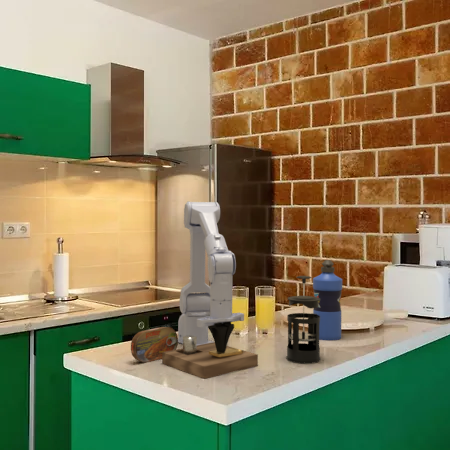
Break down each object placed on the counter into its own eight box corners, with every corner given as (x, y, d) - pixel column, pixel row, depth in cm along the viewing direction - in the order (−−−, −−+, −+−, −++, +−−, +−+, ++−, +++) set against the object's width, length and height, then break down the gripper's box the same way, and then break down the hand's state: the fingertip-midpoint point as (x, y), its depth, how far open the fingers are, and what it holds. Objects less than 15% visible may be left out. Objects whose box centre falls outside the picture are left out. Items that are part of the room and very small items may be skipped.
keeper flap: (208, 354, 148) (208, 350, 148) (233, 350, 154) (233, 347, 154) (218, 357, 145) (218, 353, 145) (243, 353, 151) (243, 349, 151)
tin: (135, 365, 150) (136, 333, 150) (128, 363, 152) (128, 331, 152) (178, 355, 161) (178, 325, 161) (171, 353, 163) (171, 323, 163)
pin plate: (162, 363, 152) (162, 352, 152) (214, 352, 164) (214, 342, 164) (204, 378, 139) (204, 366, 138) (257, 365, 150) (257, 354, 150)
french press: (309, 366, 150) (310, 279, 150) (278, 360, 156) (279, 276, 155) (329, 357, 160) (330, 275, 159) (299, 351, 165) (300, 272, 165)
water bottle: (338, 334, 190) (338, 259, 189) (344, 340, 180) (345, 261, 180) (310, 334, 189) (310, 258, 189) (315, 340, 180) (316, 261, 179)
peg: (180, 362, 153) (180, 336, 153) (190, 360, 155) (190, 334, 155) (188, 365, 150) (188, 339, 150) (199, 363, 153) (199, 337, 153)
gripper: (209, 304, 140) (209, 359, 141) (252, 298, 150) (251, 349, 150) (191, 300, 146) (191, 353, 146) (234, 295, 155) (233, 345, 155)
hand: (220, 351), depth 148 cm, fingers closed
